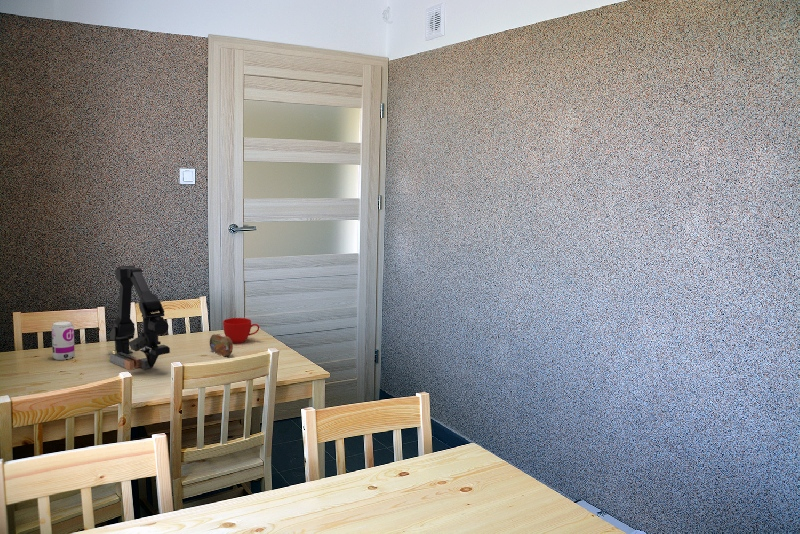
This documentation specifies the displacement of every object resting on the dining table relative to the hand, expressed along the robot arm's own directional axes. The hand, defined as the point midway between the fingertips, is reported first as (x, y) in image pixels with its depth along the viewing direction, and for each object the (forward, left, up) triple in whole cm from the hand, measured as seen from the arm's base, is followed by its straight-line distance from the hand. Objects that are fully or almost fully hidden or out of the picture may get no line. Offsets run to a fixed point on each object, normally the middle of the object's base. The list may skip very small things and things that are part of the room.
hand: (151, 367), depth 273 cm
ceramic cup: (-11, +52, -1) cm, 53 cm away
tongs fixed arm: (-14, -5, -1) cm, 15 cm away
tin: (0, +33, -1) cm, 33 cm away
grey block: (-4, -1, -1) cm, 4 cm away
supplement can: (-39, -18, -1) cm, 42 cm away
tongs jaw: (-12, -3, -1) cm, 12 cm away
